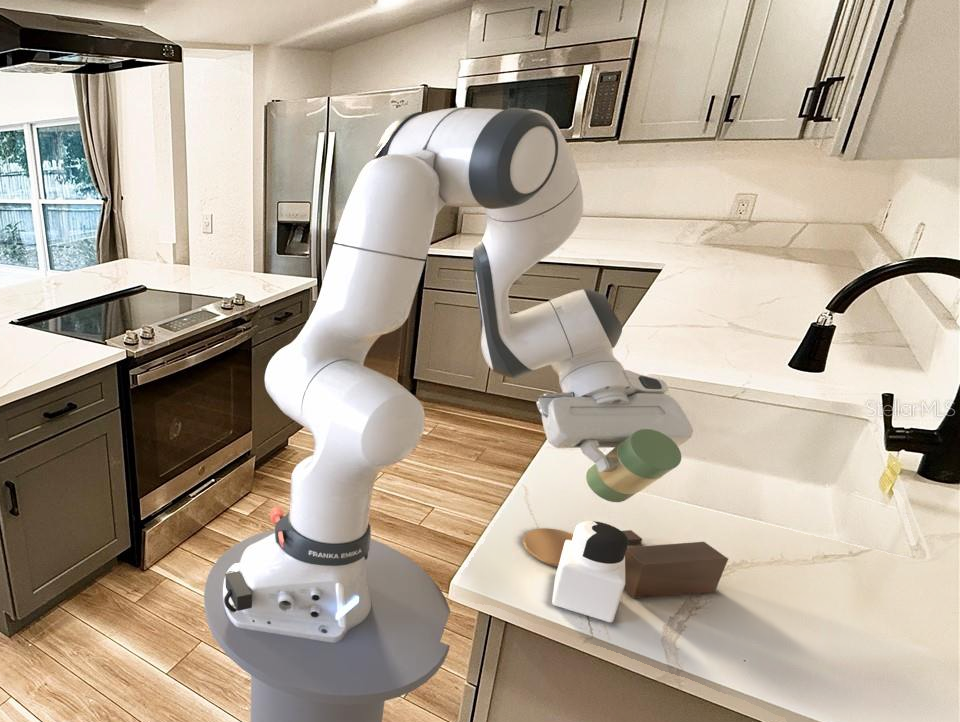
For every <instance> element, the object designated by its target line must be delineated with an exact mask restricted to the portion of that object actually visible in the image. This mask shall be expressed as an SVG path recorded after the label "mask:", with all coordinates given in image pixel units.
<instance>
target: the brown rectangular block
mask: <svg viewBox="0 0 960 722" xmlns="http://www.w3.org/2000/svg"><path fill="white" fill-rule="evenodd" d="M621 531H622V532H623V533H624V534H625V535H626V536H627V538H628V540H629V543H628V547H627V550H626V553H625V586H624V589H623V591H625V593H627V594H628V595H629V596H630V597H631V598H632V599H645V598H646V599H647V598H657V597H658V598H659V597H670V596H672V597H673V596H684V595H685V596H686V595H698V594H708V593H710V594H712V593H715V592H716V591H717V588H718V586H719V583H720V580H721V578H722V575H723V573H724V571H725V568H726V566H727V563H728V561H729V557H727V556H725V555H724V554H723V553H721V552H720V551H718V550H717V549H716V548H714V547H712V546H711V545H710V544H708V543H707V542H705V541H691V542H681V543H668V544H667V543H666V544H653V545H652V544H651V545H641V543H642V540H643V538H642V537H640V536H639V535H638V534H637V533H635V532H634V531H633V530H632V529H628V530H621Z"/></svg>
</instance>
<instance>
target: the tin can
mask: <svg viewBox="0 0 960 722" xmlns="http://www.w3.org/2000/svg"><path fill="white" fill-rule="evenodd" d="M604 455H605V456H606V457H612V458H613V460H614V463H615V465H616V468H615V469H614V470H612V472H599V470H598V468H597V466H596V463H594V464H593V465H592V466H591V467H589V468H588V469H587V471H586V474H585V480H586V482H587V485H588V487H589V488H590V490H591V491H592V492H593V493H594V494H595V495H596V496H598V497H599V498H601V499H603V500H605V501H607V502H610V503H623V502H625V501H627V500H629V499H630V498H631V497H633V496H635V495H637V494H638V493H640V492H641V491H643V490H644V489H646V488H648V487H650V485H652V484H654V483H655V482H656V481H658V480H660V479H661V478H663V477H664V476H665V475H666V474H668V473H669V472H671V471H672V470H674V469H675V468H677V467H678V466H679V465H680V464H681V462H682V453H681V450H680V448H679V446H677V445H676V444H675V442H674V441H673V440H671V439H670V438H669V437H668V436H666V435H665V434H663V433H661V432H658V431H655V430H651V429H642V430H638V431H636V432H635V433H633V434H632V435H631V436H630V437H628V438H627V439H626V440H625V441H623V442H622V443H620V444H619V445H618V446H616V447H615V448H612V449H611V450H610V451H609V452H607V453H606V454H604Z"/></svg>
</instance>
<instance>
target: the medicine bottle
mask: <svg viewBox="0 0 960 722" xmlns="http://www.w3.org/2000/svg"><path fill="white" fill-rule="evenodd" d="M622 531H623V530H621V529H619V528H618V527H616V526H614V525H611V524H609V523H605V522H602V521H595V520H588V521H582V522H580V523H578V524H576V526H575V528H574V531H573V533H572V534H573V538H572V541H571V540H566V541H565V543H564V547H563V551H562V554H561V558H560V562H559V566H558V567H557V570H556V573H555V577H554V586H553V592H552V600H551V603H552V605H553V606H555V607H559V608H561V609H565V610H568V611H571V612H575V613H577V614H581V615H585V616H587V617H590V618H594V619H597V620H599V621H603V622H607V623H613V622H614V620H615V616H616V614H617V611H618V607H619V604H620V601H621V599H622V596H623V592H624V590H623V589H624V586H625V553H626V550H627V547H629V546H628V543H629V540H628V538H627V536H626V535H625V534H624V533H623V532H622Z"/></svg>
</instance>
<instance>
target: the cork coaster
mask: <svg viewBox="0 0 960 722" xmlns="http://www.w3.org/2000/svg"><path fill="white" fill-rule="evenodd" d="M573 534H574V533H571V532H568V531H565V530H561V529H555V528H544V527H543V528H535V529H531V530H529V531H527V532H526V533H525V534H524V537H523V542H522V543H523V546H524V548H525V550H526V551H527V552H528V553H529V554H530V555H531V556H532V557H534V558H535V559H537V560H538V561H540V562H542V563H545V564H546V565H549V566H552V567H555V568H558V566H559V562H560V558H561V554H562V551H563V547H564V543H565V541H566V540H571V541H572V538H573Z"/></svg>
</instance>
